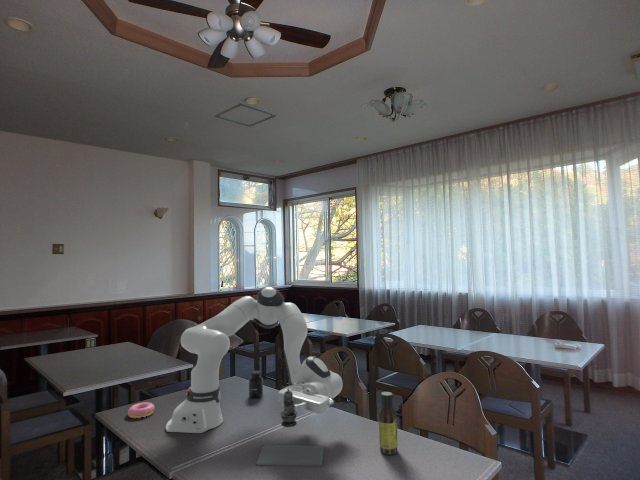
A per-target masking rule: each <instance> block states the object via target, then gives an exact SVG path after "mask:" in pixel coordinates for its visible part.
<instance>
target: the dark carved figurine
mask: <svg viewBox="0 0 640 480" xmlns="http://www.w3.org/2000/svg"><path fill="white" fill-rule="evenodd" d="M283 403H284V408H283V411H281V412H280V417H281V419H282V422H281V426H282V427H284V428H293V427H295V426H296V425H297V421H296V418H297V415H298V411H297V412H296V411H293V403H294V401H293V394H292V392H291V391H289V389H288V391H286V392H285V393H284V402H283Z"/></svg>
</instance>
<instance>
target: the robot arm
mask: <svg viewBox="0 0 640 480" xmlns="http://www.w3.org/2000/svg"><path fill="white" fill-rule="evenodd" d="M252 319H253V322H254V323H255V324H256V325H258V326H259V327H262V328H264V329H274V328H275V327H277V326H278V325H280V328H281V332H282V337H283V354H284V359H285V364H286V370H287V374H288V382H287V383H288V384H287V385H288V386H286V387H284V388H282V389H280V390H279V391H278V392H277V401H278V402H279V403H282V404H281V405H282V408H283V409H284V403H283V402H284V393H285V392H286V391H288V389H289V391H291V392H292V394H293V401H294V403H293V411H296V412H297V413H298V412H299V411H308V412H312V413H315V414H323V413H325V412H326V411H327V410H329V408H330V406H331V405H334V403H335V401H334V398H335V397H337V396H338V395H339V394H340V393H341V392H342V390H343V379H342V377H341V376H340V375H339V374H338V373H336V372H333V371H332V370H330V369H329V366H328V365H327V363H326V362H325V360H323V359H322V358H321V357H318V356H315V355H313V356H312V355H310V356H307V357H306V358H304V360H303V362H302V363H301V359H300V353H301V350H302V348H303V345H304V342H305V340H306V338H307V336H308V325H307V322H306V319H305V317H304V315H303V313H302V312H301V310H300V309H299V307H298V306H297V305H296V303H293V302H285V297H284V295H282V294H281V292H280V291H279V290H278V289H277V288H276V287H274V286H267V285H266V286H263V287H262V288H260V289H259V291H258V292H257V296H256V299H254V298H253V297H252V296H249V295H245V296H242V297H240V298H239V299H237V300H235V301H233V302H232V303H231V304H230V305H229V306H227V307H226V308H224V310H223V309H222V311H221V312H219V313H218V314H217V315H215V316H213V317H211V318H209V319H207V320H205V321H203V322H202V323H199V324H197V325H195V326H192V327H188V328H186V329H185V330H184V331H183V332H182V334H181V336H180V346H181V347H182V348H183V349H184V350H186V351H187V352H189V353H190V354H195V355H197V362H196V365H195V366H193V368H192V369H191V372H190V381H191V382H190V384H191V385H190V386H189V388H188V389H187V391H186V392H185V393H186V394H185V399H184V400H183V402H181V403H180V404H178V405H177V407H175V409H174V410H173V412H172V415H171V418H170V419H169V420H168V421H167V423H166V425H165V431H166V432H167V433H168V432H169V433H170V432H171V433H187V434H188V433H189V434H202V433H205V432H206V431H209V430H211V429H215V428H217V427H219V426H220V425H222V424H223V422H224V418H223V415H222V409H221V404H220V401H221V388H220V384H219V383H220V382H219V381H220V380H219V379H220V376H219V375H220V366H221V362H222V359H223V357H224V356H225V355H227V353H228V351H229V350H230V347H231V342H230V338H229V337H231V336H233V335H234V334H236V333H237V332H238V331H239V330H240V329H241V328H243V327H244V326H245V325H246V324H247V323H248V322H249V321H250V320H252ZM278 323H279V324H278Z"/></svg>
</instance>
